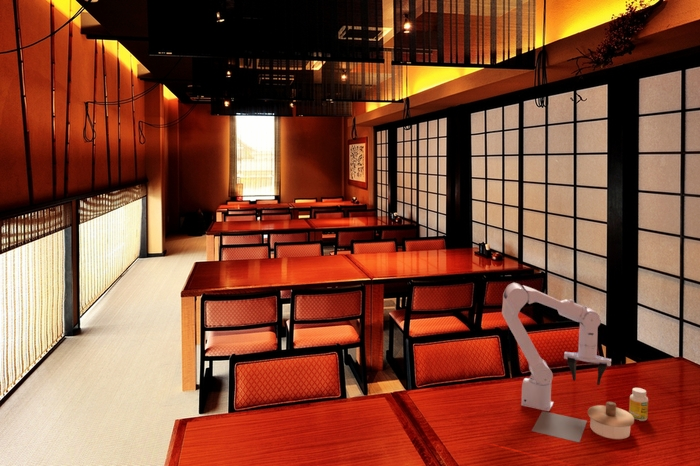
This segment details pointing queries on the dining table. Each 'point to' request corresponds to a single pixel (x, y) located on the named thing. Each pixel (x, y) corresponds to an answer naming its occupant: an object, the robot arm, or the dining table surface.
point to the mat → (560, 426)
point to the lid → (610, 415)
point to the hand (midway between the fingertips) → (586, 381)
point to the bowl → (610, 430)
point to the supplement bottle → (638, 404)
